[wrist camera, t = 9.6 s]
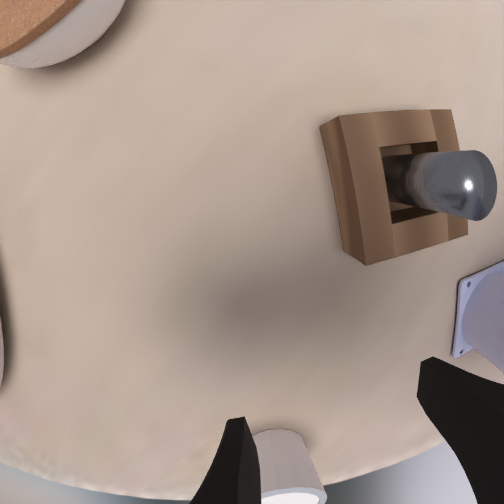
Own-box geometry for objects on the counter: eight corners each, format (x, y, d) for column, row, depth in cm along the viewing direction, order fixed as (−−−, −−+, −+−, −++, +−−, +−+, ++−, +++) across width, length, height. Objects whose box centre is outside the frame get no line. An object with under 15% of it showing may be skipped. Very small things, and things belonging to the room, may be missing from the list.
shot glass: (320, 424, 23) (341, 484, 16) (298, 467, 24) (310, 520, 17) (242, 421, 22) (247, 488, 15) (230, 465, 23) (232, 522, 16)
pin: (405, 152, 17) (491, 147, 9) (413, 196, 18) (499, 213, 10) (367, 159, 17) (449, 153, 9) (377, 205, 18) (458, 227, 10)
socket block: (421, 116, 17) (450, 109, 14) (437, 225, 19) (468, 234, 15) (319, 126, 17) (338, 115, 13) (343, 250, 19) (365, 265, 15)
